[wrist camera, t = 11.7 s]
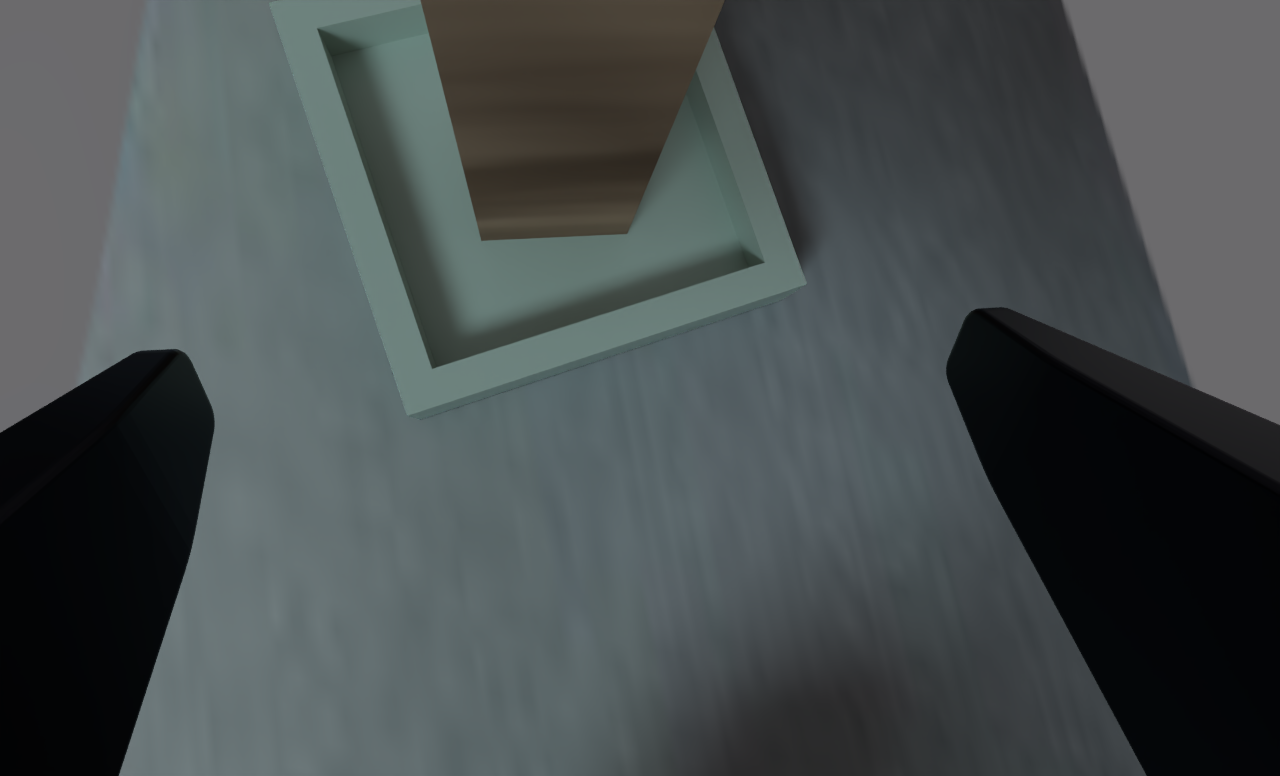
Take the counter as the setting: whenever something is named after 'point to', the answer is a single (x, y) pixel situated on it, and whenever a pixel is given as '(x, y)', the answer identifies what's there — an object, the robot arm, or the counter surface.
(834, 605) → the counter surface
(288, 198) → the counter surface
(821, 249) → the counter surface
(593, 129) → the tan wooden block
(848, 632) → the counter surface
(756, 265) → the tray
